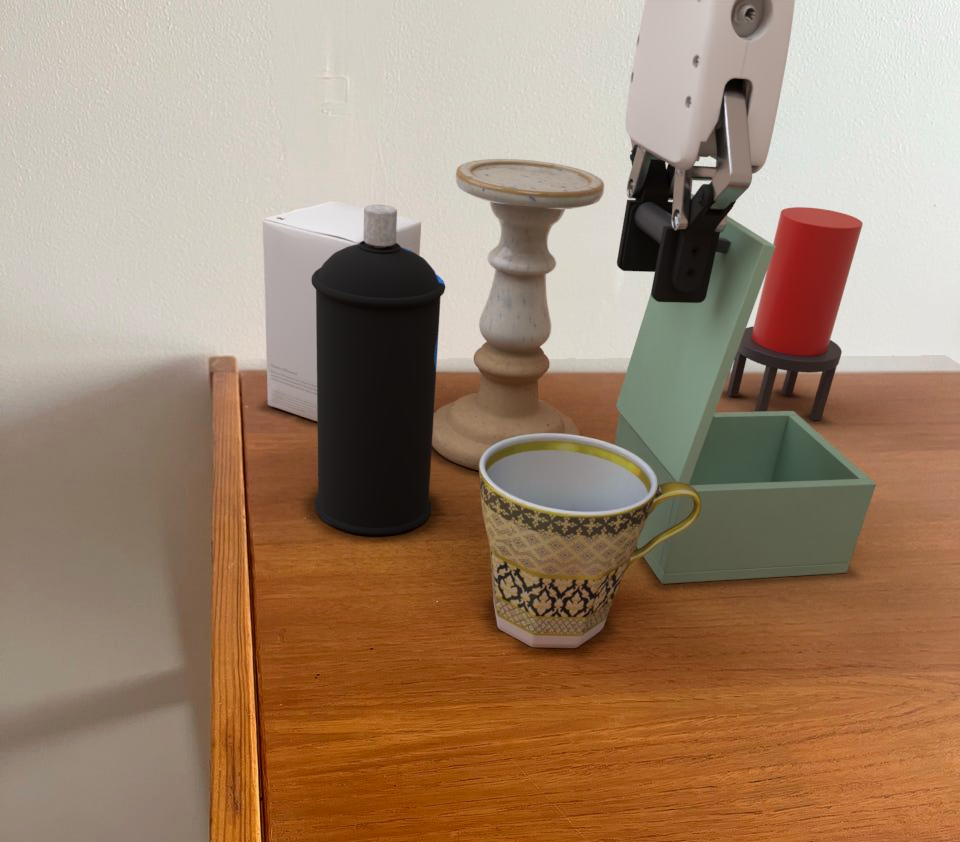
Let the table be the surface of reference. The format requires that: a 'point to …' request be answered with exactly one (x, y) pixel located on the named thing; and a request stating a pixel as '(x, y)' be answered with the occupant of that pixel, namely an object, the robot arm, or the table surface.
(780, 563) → the green open box
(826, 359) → the stool
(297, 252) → the rectangular carton
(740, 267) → the lid
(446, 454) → the candle holder
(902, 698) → the table surface
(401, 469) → the aerosol can
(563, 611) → the ceramic cup
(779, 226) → the can
